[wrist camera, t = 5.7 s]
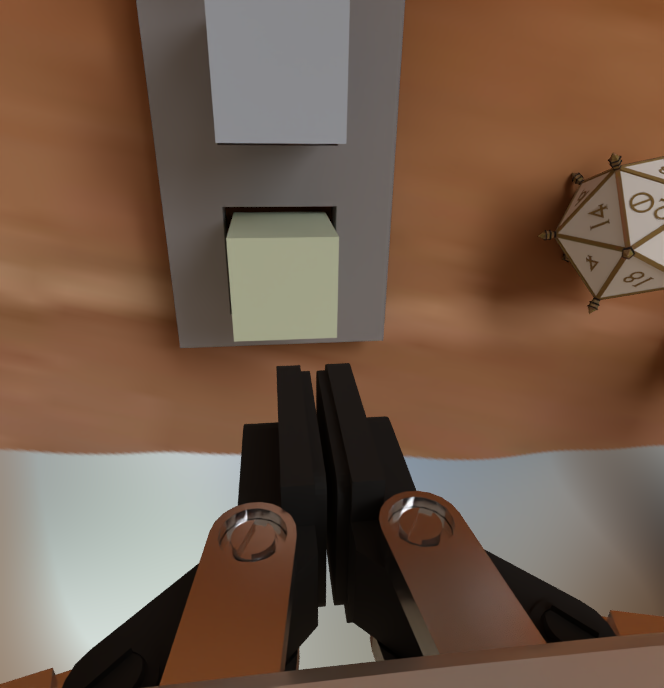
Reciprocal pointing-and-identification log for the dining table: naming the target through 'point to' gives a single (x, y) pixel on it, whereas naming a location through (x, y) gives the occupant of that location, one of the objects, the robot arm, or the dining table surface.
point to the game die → (616, 230)
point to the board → (271, 170)
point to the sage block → (283, 275)
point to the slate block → (279, 70)
